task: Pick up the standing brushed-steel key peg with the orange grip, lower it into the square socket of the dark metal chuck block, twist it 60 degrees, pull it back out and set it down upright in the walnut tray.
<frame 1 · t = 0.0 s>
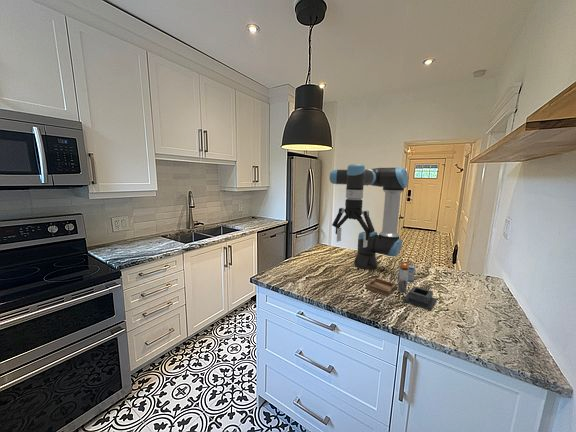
hand: (351, 243, 115), 28 cm above the worktop, fingers open, 13 cm apart
medicine box: (405, 279, 143), on the worktop
chuck block: (419, 301, 119), on the worktop
tray: (381, 288, 131), on the worktop
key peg: (402, 290, 130), on the worktop
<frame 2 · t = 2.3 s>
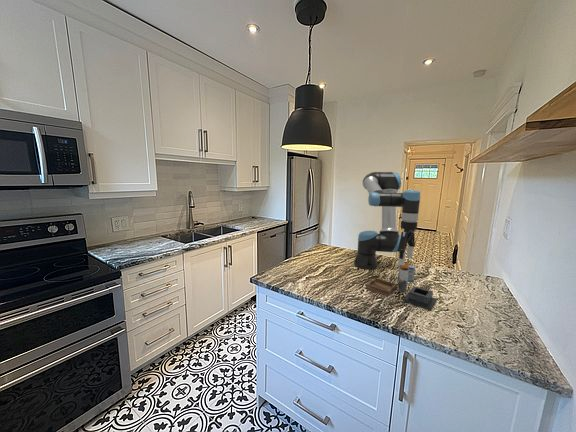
hand: (405, 261, 127), 16 cm above the worktop, fingers open, 13 cm apart
nothing on the worktop moved.
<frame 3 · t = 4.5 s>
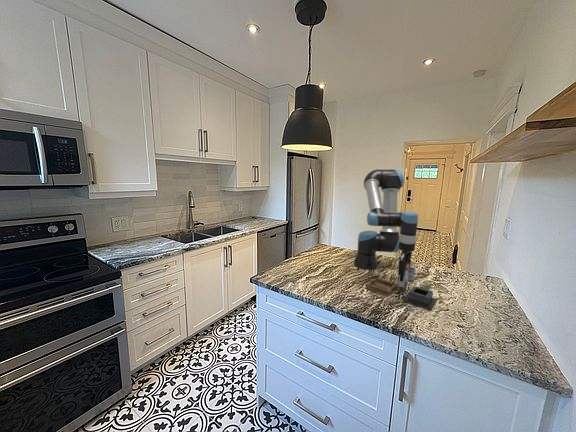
hand: (402, 284, 129), 3 cm above the worktop, fingers closed on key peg, 4 cm apart
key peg: (402, 290, 130), on the worktop, touching gripper
everything else where it was.
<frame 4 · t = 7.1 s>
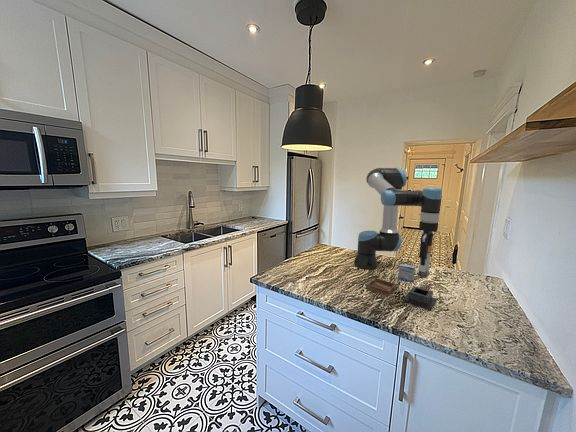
hand: (423, 269, 116), 16 cm above the worktop, fingers closed on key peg, 4 cm apart
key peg: (422, 276, 116), point 13 cm above the worktop, touching gripper
everything else where it was.
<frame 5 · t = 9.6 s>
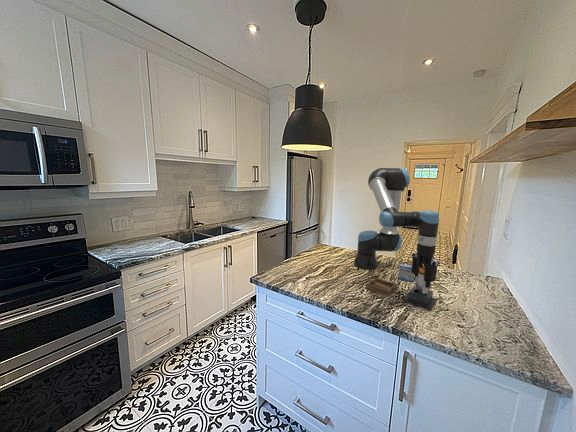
hand: (421, 290, 118), 5 cm above the worktop, fingers closed on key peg, 4 cm apart
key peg: (420, 296, 118), point 2 cm above the worktop, touching gripper
everything else where it was.
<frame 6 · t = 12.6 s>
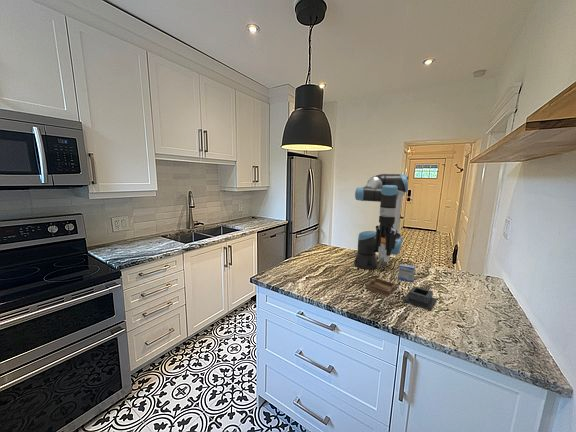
hand: (383, 259, 128), 16 cm above the worktop, fingers closed on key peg, 4 cm apart
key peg: (382, 265, 129), point 13 cm above the worktop, touching gripper
everything else where it was.
when the fingers open (5 cm above the worktop, at t = 15.1 s): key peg drops 1 cm, resting on tray.
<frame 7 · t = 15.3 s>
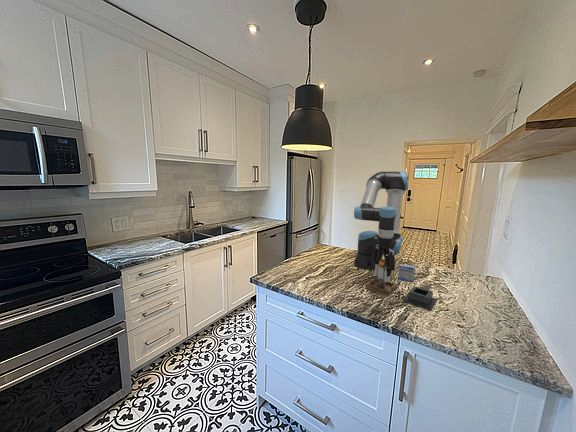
hand: (381, 278, 130), 6 cm above the worktop, fingers open, 7 cm apart
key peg: (381, 287, 131), point 1 cm above the worktop, touching tray
everything else where it was.
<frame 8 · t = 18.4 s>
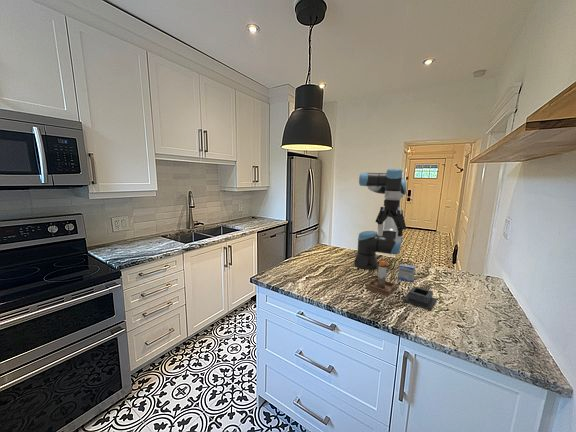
hand: (388, 238, 130), 27 cm above the worktop, fingers open, 13 cm apart
nothing on the worktop moved.
at the end: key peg inside the target area on the tray (0.0 cm from its centre), point 0.8 cm above the tray's base; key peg tilted 0°; the gripper is holding nothing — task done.
